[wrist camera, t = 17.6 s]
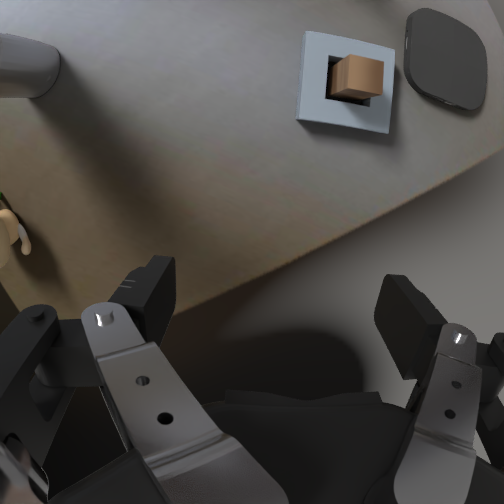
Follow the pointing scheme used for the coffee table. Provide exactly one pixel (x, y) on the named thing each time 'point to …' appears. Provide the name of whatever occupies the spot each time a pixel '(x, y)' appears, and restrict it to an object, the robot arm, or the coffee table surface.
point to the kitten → (11, 235)
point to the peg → (356, 78)
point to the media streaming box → (445, 59)
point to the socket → (315, 76)
